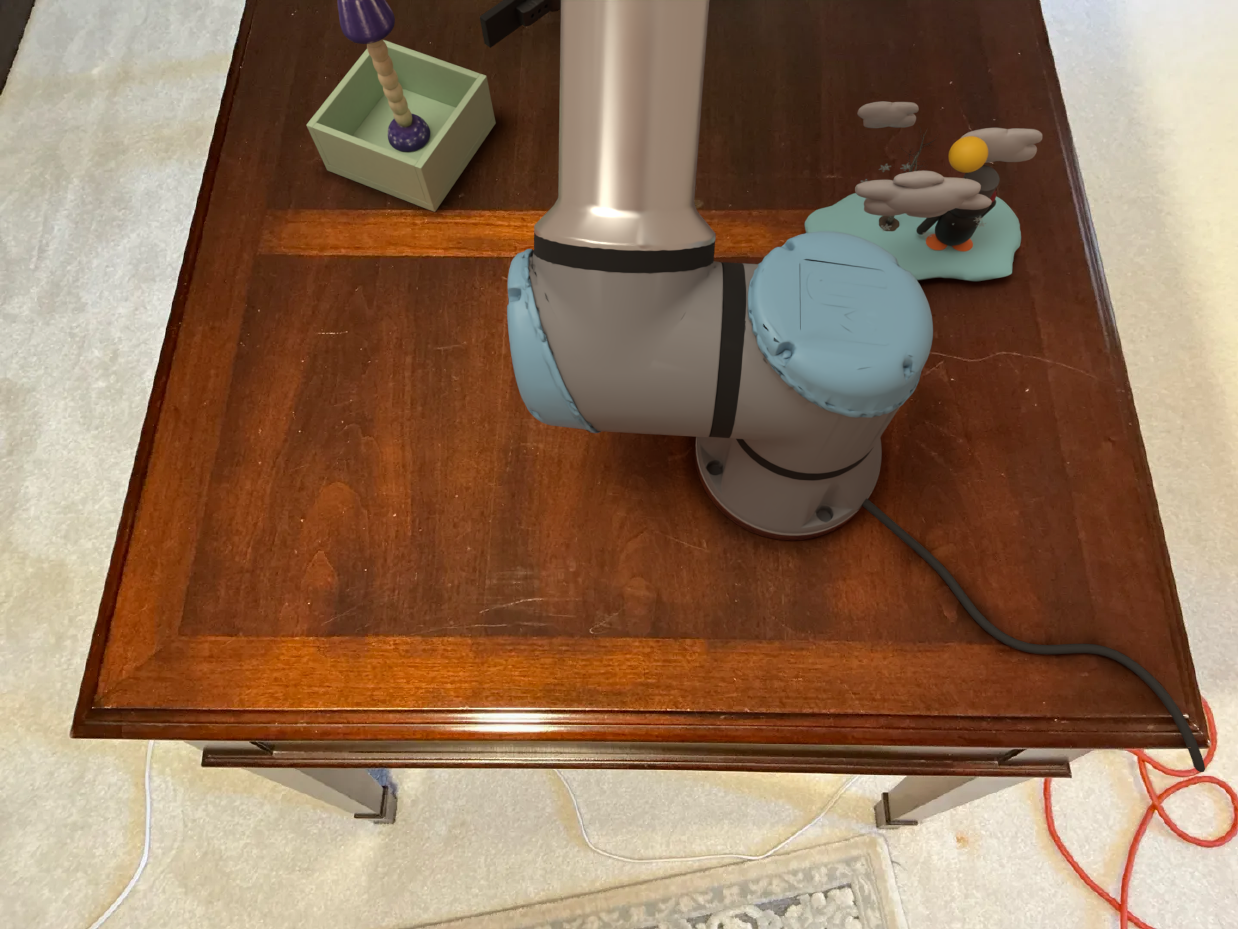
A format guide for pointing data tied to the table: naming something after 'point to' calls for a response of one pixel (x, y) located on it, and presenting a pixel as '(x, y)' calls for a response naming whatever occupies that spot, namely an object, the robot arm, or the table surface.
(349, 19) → the toy lamp
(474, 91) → the tote
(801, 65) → the table surface
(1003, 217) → the penguin figurine
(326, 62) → the table surface
